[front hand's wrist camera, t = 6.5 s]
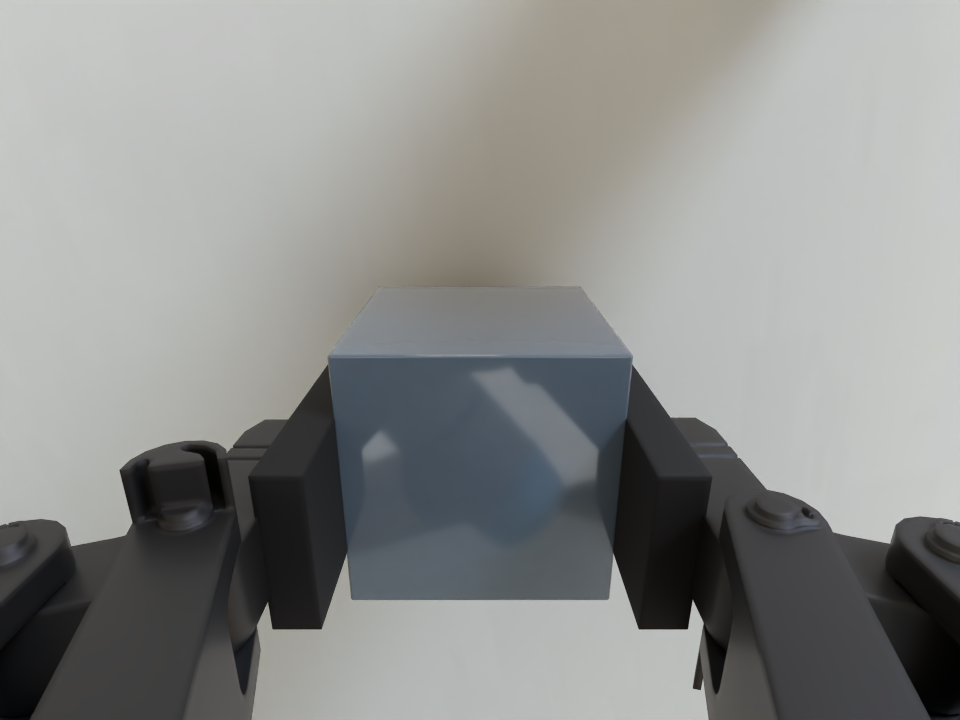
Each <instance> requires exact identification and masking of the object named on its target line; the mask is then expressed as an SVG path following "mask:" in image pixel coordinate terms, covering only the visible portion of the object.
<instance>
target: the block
mask: <svg viewBox="0 0 960 720" xmlns="http://www.w3.org/2000/svg"><path fill="white" fill-rule="evenodd" d="M632 362H633V356H632V354H631V353H630V351H629V350H628V349H627V347H626V346H625V345H624V343H623V342H622V341H621V339H620V338H619V337H618V335H617V334H616V333H615V331H614V330H613V329H612V328H611V326H610V325H609V324H608V322H607V321H606V320H605V318H604V317H603V316H602V314H601V313H600V312H599V310H598V309H597V308H596V306H595V305H594V304H593V302H592V301H591V300H590V298H589V297H588V296H587V294H586V293H585V292H584V290H583V289H582V288H581V287H379V288H378V289H377V291H376V292H375V293H374V295H373V296H372V297H371V299H370V300H369V301H368V303H367V304H366V305H365V307H364V308H363V309H362V311H361V312H360V313H359V315H358V316H357V317H356V319H355V320H354V321H353V323H352V324H351V325H350V327H349V328H348V329H347V331H346V332H345V333H344V335H343V336H342V337H341V339H340V340H339V341H338V343H337V344H336V345H335V347H334V348H333V349H332V351H331V352H330V353H329V355H328V366H329V377H330V387H331V397H332V407H333V417H334V420H335V430H336V441H337V451H338V461H339V471H340V482H341V492H342V502H343V512H344V523H345V533H346V543H347V560H348V571H349V581H350V591H351V598H352V600H608V599H609V595H610V585H611V575H612V564H613V554H614V553H613V547H614V536H615V526H616V516H617V506H618V496H619V485H620V475H621V465H622V455H623V445H624V434H625V424H626V418H627V412H628V402H629V392H630V382H631V372H632Z"/></svg>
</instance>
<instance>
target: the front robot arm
mask: <svg viewBox="0 0 960 720" xmlns="http://www.w3.org/2000/svg"><path fill="white" fill-rule="evenodd" d="M120 474H121V478H122V482H123V486H124V490H125V494H126V498H127V502H128V506H129V510H130V514H131V518H132V522H133V523H132V525H131V527H130V529H129V531H128V533H127V535H126V536H122V537H118V538H113V539H108V540H103V541H97V542H92V543H87V544H82V545H76V546H71V544H70V541H69V538H68V534H67V531H66V528H65V527H64V526H63V525H61V524H60V523H59V522H57V521H51V520H44V519H38V520H28V521H17V522H12V523H9V525H6V524H4V525H1V526H0V720H251V719H252V711H253V704H254V696H255V688H256V681H257V673H258V666H259V658H260V651H261V650H260V643H259V636H258V631H257V624H258V621H259V619H260V617H261V615H262V613H263V611H264V609H265V607H266V605H267V602H268V604H269V610H270V616H271V622H272V628H273V629H322V626H323V623H324V620H325V617H326V614H327V611H328V608H329V605H330V602H331V599H332V596H333V593H334V590H335V587H336V584H337V581H338V578H339V575H340V572H341V569H342V566H343V563H344V560H345V557H346V554H347V543H346V533H345V523H344V512H343V502H342V492H341V482H340V471H339V461H338V451H337V441H336V430H335V420H334V417H333V407H332V397H331V387H330V377H329V366H328V365H327V367H326V368H325V369H324V371H323V372H322V374H321V375H320V376H319V378H318V379H317V381H316V382H315V383H314V385H313V386H312V388H311V389H310V390H309V392H308V393H307V395H306V396H305V397H304V399H303V400H302V402H301V403H300V404H299V406H298V407H297V409H296V410H295V411H294V413H293V414H292V416H291V417H290V418H289V420H264V421H262V422H261V423H259V424H257V425H255V426H254V427H252V428H250V429H249V430H247V431H245V432H244V433H243V435H242V436H241V437H240V438H239V439H238V441H237V442H236V443H235V444H234V445H233V448H231V449H230V450H229V451H228V452H227V453H226V449H225V448H223V447H222V446H220V445H219V444H218V443H213V442H208V441H183V442H178V443H172V444H167V445H163V446H160V447H158V448H155V449H152V450H149V451H146V452H144V453H142V454H140V455H139V456H137V457H135V458H133V459H131V460H130V461H129V462H127V463H126V464H125V465H124V466H123V467H122V468H121V469H120ZM613 553H614V556H615V559H616V562H617V565H618V568H619V571H620V574H621V577H622V580H623V583H624V586H625V589H626V592H627V595H628V598H629V601H630V604H631V607H632V610H633V613H634V616H635V619H636V622H637V625H638V628H639V629H688V625H689V619H690V612H691V606H692V600H693V601H694V603H695V605H696V607H697V609H698V611H699V613H700V616H701V618H702V620H703V622H704V625H703V631H702V636H701V642H700V648H699V654H698V659H697V665H696V671H695V677H694V684H693V689H698V690H701V686H702V680H704V687H705V695H706V702H707V710H708V717H709V720H960V523H959V522H956V521H955V522H953V521H952V520H948V519H943V518H929V517H913V518H905V519H903V520H902V521H901V522H899V523H898V524H896V526H895V530H894V533H893V536H892V539H891V543H890V544H887V543H882V542H877V541H872V540H866V539H861V538H856V537H850V536H845V535H841V534H837V533H833V532H832V530H831V528H830V526H829V524H828V522H827V521H826V520H825V519H824V517H823V516H822V515H821V514H820V513H819V512H818V511H817V510H816V509H814V508H813V507H811V506H810V505H808V504H806V503H805V502H803V501H801V500H799V499H796V498H794V497H791V496H789V495H786V494H784V493H779V492H775V491H770V490H766V488H765V487H764V486H763V485H762V484H761V482H760V481H759V480H758V479H757V478H756V477H755V475H754V474H753V473H752V472H751V471H750V470H749V468H748V467H747V466H746V465H745V464H744V462H743V461H742V460H741V459H740V458H737V454H736V453H735V452H734V451H733V449H732V448H731V447H730V446H728V444H727V442H726V441H725V440H724V439H723V438H722V437H721V435H720V434H719V433H718V432H717V431H716V430H715V429H714V428H712V427H710V426H708V425H707V424H705V423H703V422H702V421H700V420H698V419H696V418H670V416H669V415H668V414H667V412H666V411H665V409H664V408H663V407H662V405H661V404H660V402H659V401H658V400H657V398H656V397H655V395H654V394H653V393H652V391H651V390H650V388H649V387H648V386H647V384H646V383H645V381H644V380H643V379H642V377H641V376H640V375H639V373H638V372H637V370H636V369H635V368H634V366H633V365H632V372H631V382H630V392H629V402H628V412H627V418H626V424H625V434H624V445H623V455H622V465H621V475H620V485H619V496H618V506H617V516H616V526H615V536H614V547H613Z"/></svg>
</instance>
